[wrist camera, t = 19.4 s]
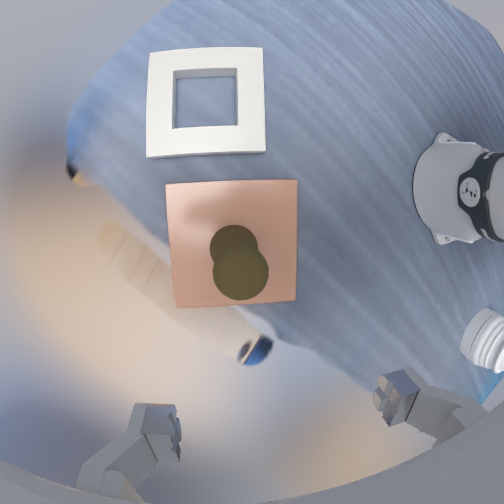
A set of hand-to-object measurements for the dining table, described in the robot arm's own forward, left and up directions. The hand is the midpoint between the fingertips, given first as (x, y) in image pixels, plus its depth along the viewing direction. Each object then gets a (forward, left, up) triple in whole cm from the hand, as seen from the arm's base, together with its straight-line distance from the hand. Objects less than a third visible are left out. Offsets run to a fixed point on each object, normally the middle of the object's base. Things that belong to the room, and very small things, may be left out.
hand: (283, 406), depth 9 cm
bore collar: (+3, -18, -27) cm, 33 cm away
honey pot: (-56, +24, -27) cm, 67 cm away
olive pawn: (0, 0, -27) cm, 27 cm away
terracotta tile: (0, 0, -27) cm, 27 cm away
